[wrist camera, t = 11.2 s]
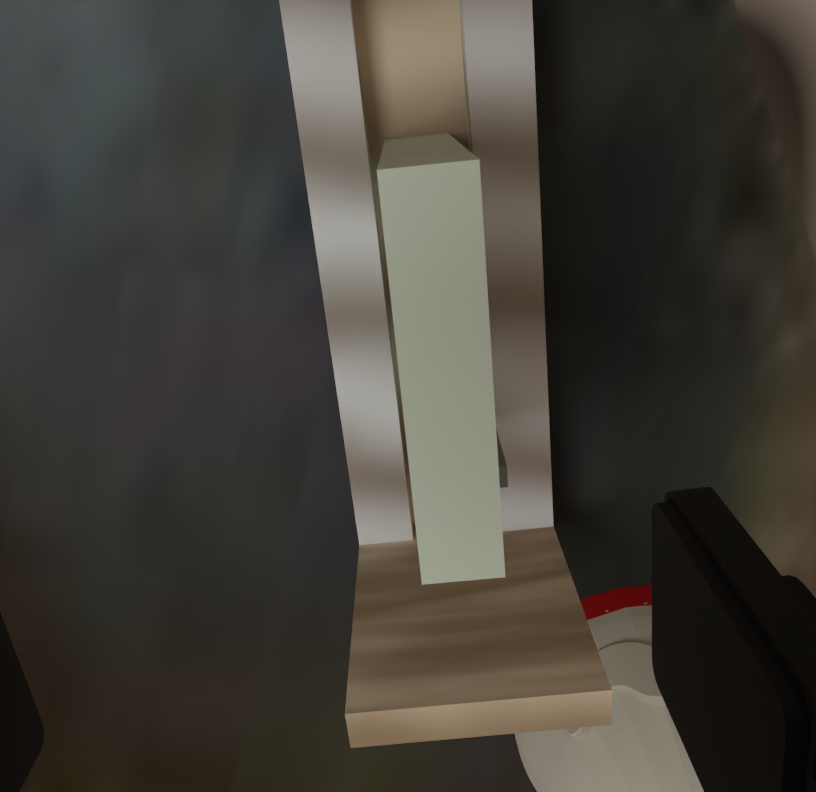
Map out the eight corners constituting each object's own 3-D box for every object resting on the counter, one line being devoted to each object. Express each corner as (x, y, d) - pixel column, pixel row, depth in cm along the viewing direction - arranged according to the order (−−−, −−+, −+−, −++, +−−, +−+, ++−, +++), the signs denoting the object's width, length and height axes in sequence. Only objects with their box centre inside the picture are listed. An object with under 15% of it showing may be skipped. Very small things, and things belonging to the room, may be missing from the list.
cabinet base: (281, -45, 29) (199, -140, 17) (518, -72, 29) (602, -188, 17) (365, 543, 39) (350, 747, 27) (545, 526, 39) (612, 724, 27)
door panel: (385, 139, 31) (376, 169, 19) (462, 131, 31) (504, 156, 19) (413, 415, 35) (421, 584, 23) (481, 409, 35) (525, 575, 23)
